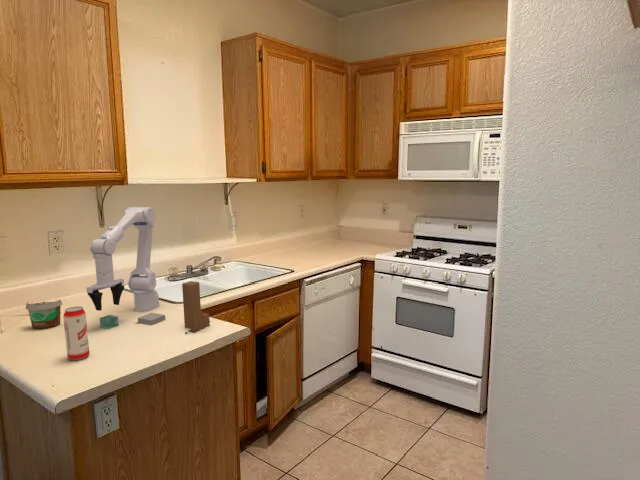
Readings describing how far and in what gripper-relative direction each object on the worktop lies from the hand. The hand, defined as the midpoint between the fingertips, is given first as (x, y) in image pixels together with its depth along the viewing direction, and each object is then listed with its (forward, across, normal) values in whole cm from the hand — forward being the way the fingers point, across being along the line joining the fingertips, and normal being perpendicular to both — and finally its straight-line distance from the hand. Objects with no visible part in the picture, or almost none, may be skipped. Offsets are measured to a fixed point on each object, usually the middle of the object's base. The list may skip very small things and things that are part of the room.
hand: (107, 307), depth 168 cm
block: (+9, 0, 0) cm, 9 cm away
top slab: (+8, -11, +10) cm, 17 cm away
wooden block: (+9, -15, +29) cm, 34 cm away
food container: (+9, +9, -25) cm, 28 cm away
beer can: (+9, +22, +13) cm, 27 cm away
